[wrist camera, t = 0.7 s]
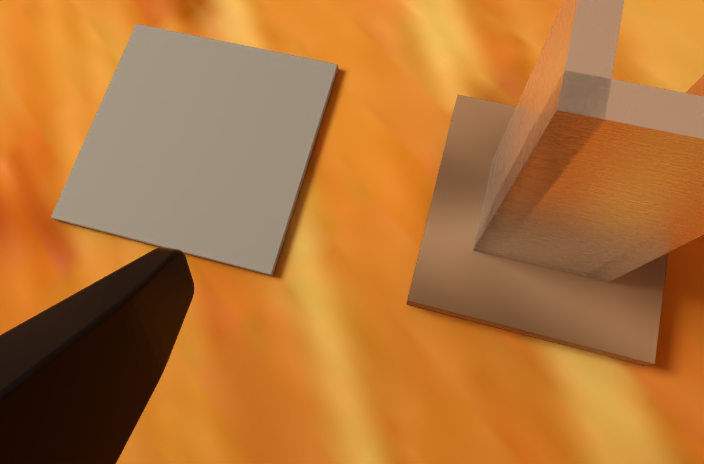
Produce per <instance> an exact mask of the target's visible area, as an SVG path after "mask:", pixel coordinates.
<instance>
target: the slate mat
mask: <svg viewBox="0 0 704 464" xmlns="http://www.w3.org/2000/svg"><path fill="white" fill-rule="evenodd" d="M337 71H338V65H337V64H334V63H329V62H324V61H319V60H314V59H309V58H304V57H299V56H294V55H289V54H284V53H279V52H274V51H269V50H264V49H259V48H254V47H249V46H244V45H239V44H234V43H229V42H224V41H219V40H214V39H209V38H204V37H199V36H194V35H189V34H184V33H179V32H174V31H169V30H164V29H159V28H154V27H149V26H144V25H139V24H136V25H135V28H134V30H133V32H132V34H131V37H130V39H129V41H128V44H127V46H126V48H125V50H124V53H123V55H122V57H121V59H120V62H119V64H118V66H117V69H116V71H115V73H114V75H113V78H112V80H111V82H110V84H109V87H108V89H107V91H106V93H105V96H104V98H103V100H102V103H101V105H100V107H99V109H98V112H97V114H96V116H95V118H94V121H93V123H92V125H91V128H90V130H89V132H88V134H87V137H86V139H85V141H84V143H83V146H82V148H81V150H80V153H79V155H78V157H77V159H76V162H75V164H74V166H73V168H72V171H71V173H70V175H69V177H68V180H67V182H66V184H65V187H64V189H63V191H62V193H61V196H60V198H59V200H58V202H57V205H56V207H55V209H54V212H53V214H52V216H51V218H53V219H55V220H58V221H62V222H65V223H69V224H73V225H77V226H81V227H85V228H89V229H92V230H96V231H100V232H104V233H108V234H112V235H115V236H119V237H123V238H127V239H131V240H135V241H139V242H142V243H146V244H150V245H154V246H158V247H165V248H172V249H179V250H181V251H182V252H183V253H185V254H189V255H192V256H196V257H200V258H204V259H208V260H212V261H216V262H219V263H223V264H227V265H231V266H235V267H239V268H242V269H246V270H250V271H254V272H258V273H262V274H266V275H269V276H273V274H274V270H275V267H276V264H277V261H278V258H279V255H280V251H281V248H282V245H283V242H284V239H285V236H286V232H287V229H288V226H289V223H290V220H291V217H292V213H293V210H294V207H295V204H296V201H297V198H298V194H299V191H300V188H301V185H302V182H303V179H304V175H305V172H306V169H307V166H308V163H309V159H310V156H311V153H312V150H313V147H314V144H315V140H316V137H317V134H318V131H319V128H320V125H321V121H322V118H323V115H324V112H325V109H326V106H327V102H328V99H329V96H330V93H331V90H332V87H333V83H334V80H335V77H336V74H337Z"/></svg>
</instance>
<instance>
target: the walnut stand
mask: <svg viewBox="0 0 704 464" xmlns="http://www.w3.org/2000/svg"><path fill="white" fill-rule="evenodd" d="M515 108H516V106H512V105H507V104H502V103H497V102H492V101H487V100H482V99H477V98H472V97H467V96H462V95H458V96H457V100H456V104H455V108H454V112H453V116H452V120H451V124H450V128H449V132H448V136H447V141H446V145H445V149H444V153H443V157H442V161H441V165H440V169H439V173H438V177H437V181H436V186H435V190H434V194H433V198H432V202H431V206H430V210H429V214H428V218H427V222H426V226H425V230H424V235H423V239H422V243H421V247H420V251H419V255H418V259H417V263H416V267H415V271H414V275H413V280H412V284H411V288H410V292H409V296H408V300H407V304H408V305H412V306H415V307H419V308H423V309H427V310H431V311H435V312H439V313H443V314H446V315H450V316H454V317H458V318H462V319H466V320H470V321H474V322H477V323H481V324H485V325H489V326H493V327H497V328H501V329H505V330H508V331H512V332H516V333H520V334H524V335H528V336H532V337H536V338H539V339H543V340H547V341H551V342H555V343H559V344H563V345H567V346H570V347H574V348H578V349H582V350H586V351H590V352H594V353H598V354H601V355H605V356H609V357H613V358H617V359H621V360H625V361H629V362H632V363H636V364H640V365H651V364H655V359H656V350H657V342H658V333H659V325H660V316H661V308H662V299H663V291H664V282H665V274H666V265H667V257H668V253H666V254H664V255H662V256H660V257H658V258H656V259H654V260H652V261H650V262H648V263H646V264H644V265H642V266H640V267H638V268H636V269H634V270H632V271H630V272H628V273H626V274H624V275H622V276H620V277H618V278H616V279H614V280H612V281H610V282H608V283H607V282H603V281H598V280H594V279H590V278H586V277H582V276H578V275H573V274H569V273H565V272H561V271H557V270H553V269H548V268H544V267H540V266H536V265H532V264H528V263H523V262H519V261H515V260H511V259H507V258H503V257H498V256H494V255H490V254H486V253H482V252H478V251H474V250H473V248H474V244H475V239H476V235H477V230H478V225H479V221H480V216H481V211H482V207H483V202H484V198H485V193H486V188H487V184H488V179H489V175H490V170H491V165H492V161H493V157H494V155H495V153H496V151H497V148H498V146H499V144H500V142H501V139H502V137H503V135H504V133H505V131H506V128H507V126H508V124H509V122H510V119H511V117H512V115H513V113H514V110H515Z"/></svg>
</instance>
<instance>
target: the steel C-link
mask: <svg viewBox="0 0 704 464" xmlns="http://www.w3.org/2000/svg"><path fill="white" fill-rule="evenodd" d="M623 4H624V0H564V1H563V3H562V6H561V8H560V10H559V12H558V14H557V17H556V19H555V21H554V23H553V26H552V28H551V30H550V32H549V35H548V37H547V39H546V41H545V43H544V46H543V48H542V50H541V52H540V55H539V57H538V59H537V61H536V64H535V66H534V68H533V70H532V73H531V75H530V77H529V79H528V81H527V84H526V86H525V88H524V90H523V93H522V95H521V97H520V99H519V102H518V104H517V106H516V108H515V110H514V113H513V115H512V117H511V119H510V122H509V124H508V126H507V128H506V131H505V133H504V135H503V137H502V139H501V142H500V144H499V146H498V148H497V151H496V153H495V155H494V157H493V161H492V165H491V170H490V175H489V179H488V184H487V188H486V193H485V198H484V202H483V207H482V211H481V216H480V221H479V225H478V230H477V235H476V239H475V244H474V248H473V250H474V251H478V252H482V253H486V254H490V255H494V256H498V257H503V258H507V259H511V260H515V261H519V262H523V263H528V264H532V265H536V266H540V267H544V268H548V269H553V270H557V271H561V272H565V273H569V274H573V275H578V276H582V277H586V278H590V279H594V280H598V281H603V282H607V283H608V282H610V281H612V280H614V279H616V278H618V277H620V276H622V275H624V274H626V273H628V272H630V271H632V270H634V269H636V268H638V267H640V266H642V265H644V264H646V263H648V262H650V261H652V260H654V259H656V258H658V257H660V256H662V255H664V254H666V253H668V252H670V251H672V250H674V249H676V248H678V247H680V246H682V245H684V244H686V243H688V242H690V241H692V240H694V239H696V238H698V237H700V236H702V235H704V75H703V76H702V77H701V78H700V79H699V80H698V81H697V82H696V83H695V84H694V85H693V86H692V87H691V88H690V89H689V90H688V91H687V92H686V93H682V92H677V91H672V90H667V89H661V88H656V87H651V86H646V85H640V84H635V83H630V82H625V81H619V80H614V79H611V78H612V72H613V66H614V60H615V54H616V47H617V41H618V35H619V29H620V22H621V16H622V10H623Z"/></svg>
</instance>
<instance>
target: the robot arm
mask: <svg viewBox="0 0 704 464" xmlns="http://www.w3.org/2000/svg"><path fill="white" fill-rule="evenodd" d="M193 294H194V282H193V279H192V276H191V272H190V269H189V266H188V263H187V259H186V256H185V254H184V253H183V252H182V251H181V250H179V249H172V248H165V247H159V248H156V249H154V250H152V251H151V252H149V253H147V254H145V255H143V256H142V257H140V258H138V259H136V260H135V261H133V262H131V263H129V264H127V265H126V266H124V267H122V268H120V269H118V270H117V271H115V272H113V273H111V274H109V275H108V276H106V277H104V278H102V279H100V280H99V281H97V282H95V283H93V284H91V285H90V286H88V287H86V288H84V289H83V290H81V291H79V292H77V293H75V294H74V295H72V296H70V297H68V298H66V299H65V300H63V301H61V302H59V303H57V304H56V305H54V306H52V307H50V308H48V309H47V310H45V311H43V312H41V313H39V314H38V315H36V316H34V317H32V318H30V319H29V320H27V321H25V322H23V323H22V324H20V325H18V326H16V327H14V328H13V329H11V330H9V331H7V332H5V333H4V334H2V335H0V464H116V462H117V460H118V458H119V457H120V455H121V453H122V451H123V449H124V447H125V445H126V443H127V441H128V439H129V437H130V435H131V434H132V432H133V430H134V428H135V426H136V424H137V422H138V420H139V418H140V416H141V414H142V412H143V411H144V409H145V407H146V405H147V403H148V401H149V399H150V397H151V395H152V393H153V391H154V389H155V388H156V386H157V384H158V382H159V380H160V378H161V375H162V373H163V371H164V369H165V367H166V364H167V362H168V359H169V357H170V354H171V352H172V349H173V347H174V344H175V342H176V339H177V336H178V334H179V331H180V329H181V326H182V324H183V321H184V319H185V316H186V313H187V311H188V308H189V306H190V303H191V301H192V298H193Z"/></svg>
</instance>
